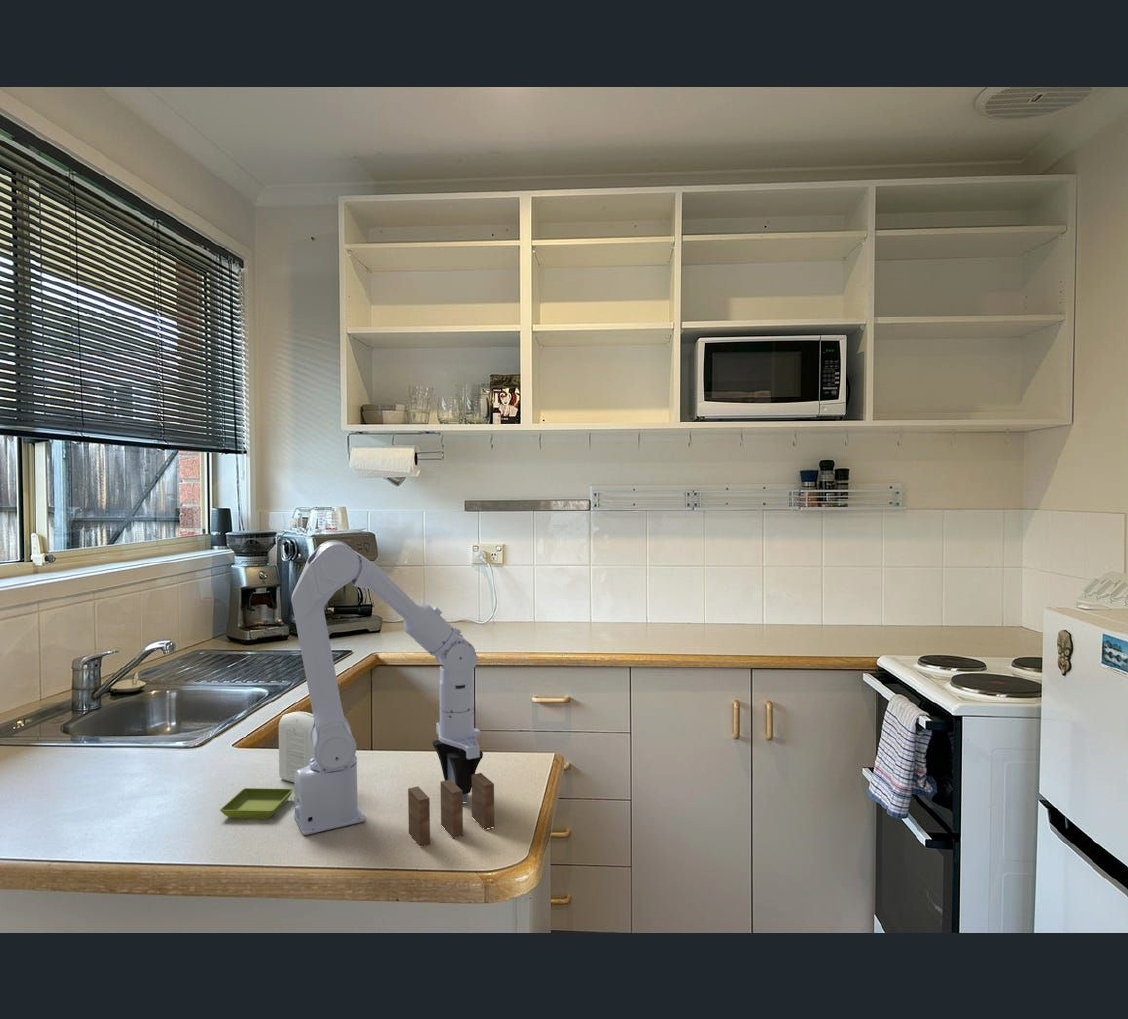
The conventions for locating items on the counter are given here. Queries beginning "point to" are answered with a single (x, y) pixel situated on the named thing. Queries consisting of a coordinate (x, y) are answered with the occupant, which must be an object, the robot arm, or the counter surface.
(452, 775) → the end domino
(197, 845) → the counter surface
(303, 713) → the white rounded tombstone
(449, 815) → the domino
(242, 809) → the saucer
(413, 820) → the domino
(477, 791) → the domino
